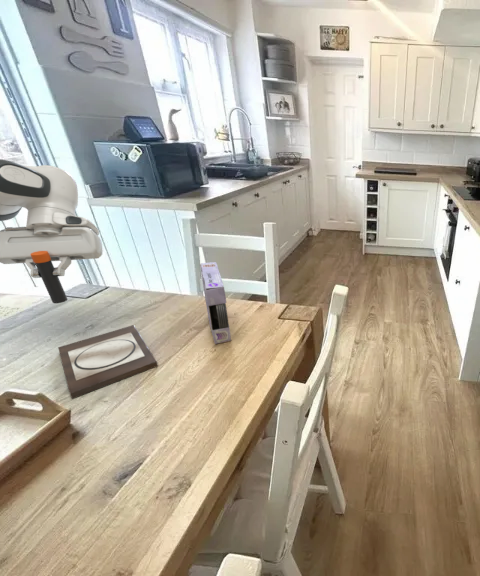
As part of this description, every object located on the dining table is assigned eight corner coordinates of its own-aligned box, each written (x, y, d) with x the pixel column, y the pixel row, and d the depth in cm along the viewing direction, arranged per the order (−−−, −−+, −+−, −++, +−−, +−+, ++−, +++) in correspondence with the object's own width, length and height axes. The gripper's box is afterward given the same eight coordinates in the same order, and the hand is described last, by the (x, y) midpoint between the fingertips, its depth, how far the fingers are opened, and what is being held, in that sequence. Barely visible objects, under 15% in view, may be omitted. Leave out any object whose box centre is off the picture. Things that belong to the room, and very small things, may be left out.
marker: (49, 304, 81) (27, 255, 75) (55, 298, 83) (34, 251, 77) (64, 302, 82) (43, 254, 76) (70, 297, 84) (50, 250, 78)
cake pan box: (234, 342, 91) (224, 286, 83) (214, 347, 88) (202, 289, 80) (225, 311, 105) (215, 260, 97) (207, 314, 103) (197, 263, 95)
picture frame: (60, 352, 83) (57, 346, 82) (135, 329, 94) (133, 323, 93) (72, 398, 70) (69, 392, 69) (158, 366, 80) (156, 360, 80)
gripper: (-13, 221, 76) (-21, 275, 72) (94, 218, 83) (92, 267, 79) (7, 234, 82) (1, 285, 78) (106, 230, 89) (104, 276, 85)
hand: (47, 276), depth 79 cm, fingers closed on marker, 3 cm apart
